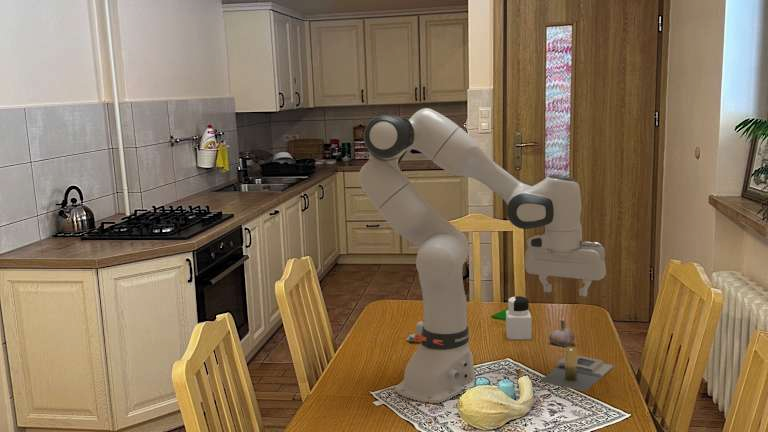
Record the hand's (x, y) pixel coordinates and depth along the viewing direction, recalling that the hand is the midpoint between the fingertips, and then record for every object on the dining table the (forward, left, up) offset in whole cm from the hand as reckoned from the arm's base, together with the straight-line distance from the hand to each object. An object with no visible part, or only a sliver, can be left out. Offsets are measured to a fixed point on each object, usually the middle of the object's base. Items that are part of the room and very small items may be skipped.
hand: (565, 293), depth 180 cm
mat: (+2, -3, -23) cm, 23 cm away
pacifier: (+4, +49, -23) cm, 55 cm away
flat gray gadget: (+6, -3, -21) cm, 22 cm away
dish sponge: (+37, +35, -24) cm, 57 cm away
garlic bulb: (+23, +11, -23) cm, 35 cm away
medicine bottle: (+23, +25, -23) cm, 42 cm away
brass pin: (-2, -3, -21) cm, 22 cm away
